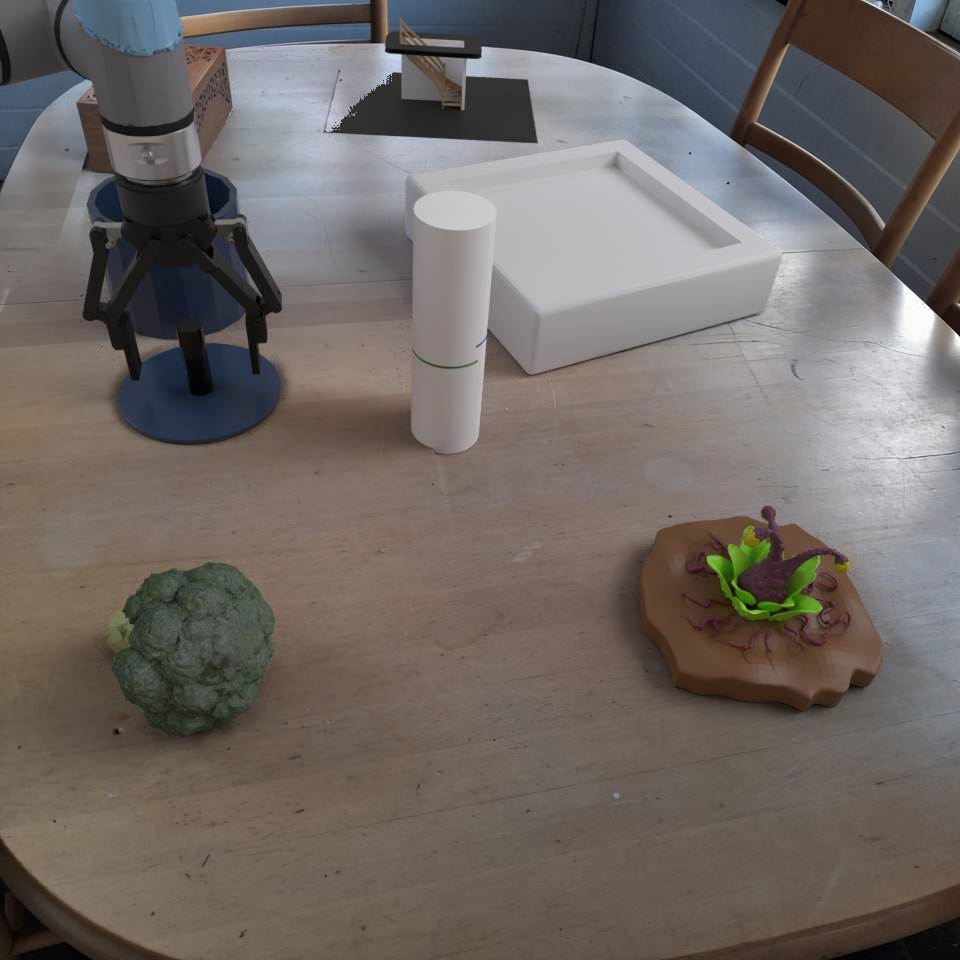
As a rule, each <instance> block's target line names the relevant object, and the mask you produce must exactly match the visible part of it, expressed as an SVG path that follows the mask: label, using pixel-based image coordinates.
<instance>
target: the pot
mask: <svg viewBox="0 0 960 960" xmlns="http://www.w3.org/2000/svg"><path fill="white" fill-rule="evenodd" d="M202 168H203V171H204V177H205V183H206V189H207V196H208V202H209V208H210V211H211V213H212V215H213V216H214V217H215V219H216V220H226V219H234V216H235V215H236V214H241V208H240V201H239V195H238V188H237V187H236V186H235V184H233V183H232V181H231V180H230V179H229V178H228V176H224V175H222V174H221V173H218V172H215V171H214V170H211V169H208V168H204V167H202ZM114 176H115V175H113V176H110V177H107V178H105V179H104V180H103V181H101V182H100V183H98V184H97V186H95V187H94V188H93V189H91V191H90V192H89V195H88V198H87V202H86V208H87V212H88V217H89V220H90V224H91V225H92V223H93V220H94V219H95V218H97V217H100V218H103V219H104V220H105V221H106V222H107V223H116V222H122V221H123V214H122V209H121V205H120V201H119V196H118V192H117V188H116V183H115V179H114ZM212 243H213V244H214V245H215V247H216V248H217V249H218V250H219V253H220V254H221V256H222V257H223V258H224V259H225V260H226V261H227V262H228V263H229V264H230V265H231V266H232V267H233V268H234V269H235V270H236V271H237V272H238V273H239V274H240V275H241V276H242V277H243V278H244V279H245V280H246V281H247V282H248V283H249V284H250V275H249V273H248V271H247V269H246V268H245V266H244V264H243V263H242V261H241V259H240V257H239V256H238V254H237V251H236V248H235V244H234V245H231V244H229V243H228V242H227V241H226V239H225V237H224V236H223V235H220V234H217V236H216V238H215V239H214V241H213V242H212ZM135 253H136V250H135V249H134V248H133V247H132V246H131V245H130V244H129V243H128V242H127V241H126V240H124V238H123V237H120V238H118V239H117V243H116V246H115V247H113V248H110V250H109V255H108V261H107V266H106V271H105V276H104V280H105V283H106V287H107V289H108V294H109V297H110V299H111V297H112V295H113V293H114V292H115V290H116V288H117V286H118V284H119V283H120V281H121V279H122V277H123V276H124V274H125V272H126V270H127V268H128V267H129V265H130V263H131V261H132V260H133V258H134V256H135ZM126 311H129V313H130V318H131V322H132V326H133V330H134V333H136V334H137V335H139V336H144V337H149V338H154V339H159V340H164V341H168V340H169V341H170V340H178V338H177V333H176V328H175V325H176V323H177V322H178V321H180V320H182V319H185V318H195V319H198V320H200V321H201V322H202V326H203V331H204V336H208V335H212V334H215V333H218V332H221V331H223V330H226V328H228V327H230V326H232V325H234V324H235V323H237V322H239V321H240V320H241V319H242V317H243V316H244V315H245V311H246V310H245V309H244V308H243V307H242V306H241V305H240V304H239V303H238V302H237V301H236V300H235V299H234V298H233V297H232V296H231V295H230V294H229V293H228V292H227V291H226V290H225V289H224V288H223V287H222V286H221V285H220V284H219V283H218V282H217V281H216V280H215V279H214V278H213V277H212V276H211V275H210V274H206V273H205V272H204V271H203V270H202V269H201V268H200V267H199V266H198V265H197V264H194V265H193V267H179V266H173V267H169V268H158V266H156V265H154V264H152V265H151V267H150V268H149V270H148V272H147V274H146V275H145V276H144V277H143V279H142V280H141V282H140V284H139V286H138V287H137V289H136V291H135V292H134V294H133V296H132V298H131V299H130V301H129V303H128V305H127V306H126V308H125V310H124V312H126Z"/></svg>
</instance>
